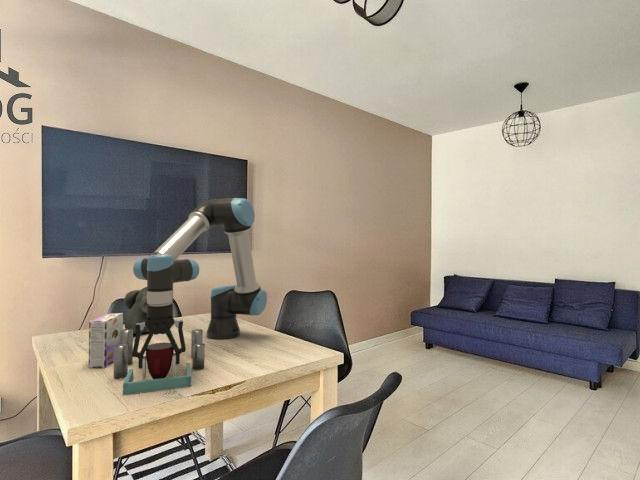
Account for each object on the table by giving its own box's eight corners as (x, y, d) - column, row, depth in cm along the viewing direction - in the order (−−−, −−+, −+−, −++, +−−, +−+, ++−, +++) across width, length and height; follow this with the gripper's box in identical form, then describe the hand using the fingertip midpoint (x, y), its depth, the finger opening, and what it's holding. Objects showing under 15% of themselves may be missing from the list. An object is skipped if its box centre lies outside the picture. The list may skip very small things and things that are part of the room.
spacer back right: (133, 361, 133) (133, 328, 133) (131, 364, 129) (132, 331, 129) (120, 362, 131) (121, 329, 131) (119, 366, 127) (119, 332, 127)
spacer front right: (128, 373, 120) (128, 343, 120) (126, 377, 117) (127, 346, 117) (114, 374, 119) (115, 344, 119) (112, 379, 115) (112, 347, 115)
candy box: (107, 355, 139) (108, 312, 139) (123, 355, 139) (124, 312, 139) (87, 368, 125) (88, 320, 125) (105, 368, 125) (106, 320, 126)
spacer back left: (202, 354, 141) (202, 328, 141) (202, 357, 137) (202, 331, 137) (191, 355, 140) (191, 329, 140) (191, 358, 136) (191, 332, 136)
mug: (173, 383, 110) (174, 350, 110) (144, 387, 107) (144, 353, 107) (172, 371, 120) (173, 341, 120) (145, 374, 117) (146, 343, 117)
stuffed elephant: (171, 325, 189) (171, 273, 189) (159, 336, 168) (160, 277, 168) (131, 326, 186) (132, 274, 186) (115, 337, 165) (116, 278, 165)
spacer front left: (204, 365, 129) (204, 342, 129) (204, 368, 125) (204, 345, 125) (192, 366, 128) (192, 343, 128) (192, 370, 124) (192, 346, 124)
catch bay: (190, 371, 123) (190, 362, 123) (191, 386, 110) (191, 376, 110) (129, 378, 116) (129, 369, 116) (122, 394, 104) (123, 384, 104)
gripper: (194, 300, 121) (194, 368, 121) (124, 303, 113) (123, 376, 113) (195, 304, 114) (195, 376, 114) (120, 308, 106) (119, 385, 106)
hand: (159, 376), depth 113 cm, fingers closed on mug, 8 cm apart
